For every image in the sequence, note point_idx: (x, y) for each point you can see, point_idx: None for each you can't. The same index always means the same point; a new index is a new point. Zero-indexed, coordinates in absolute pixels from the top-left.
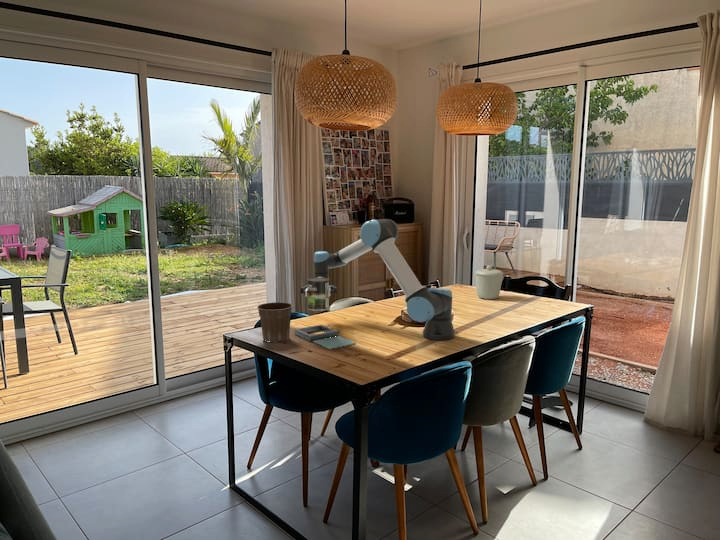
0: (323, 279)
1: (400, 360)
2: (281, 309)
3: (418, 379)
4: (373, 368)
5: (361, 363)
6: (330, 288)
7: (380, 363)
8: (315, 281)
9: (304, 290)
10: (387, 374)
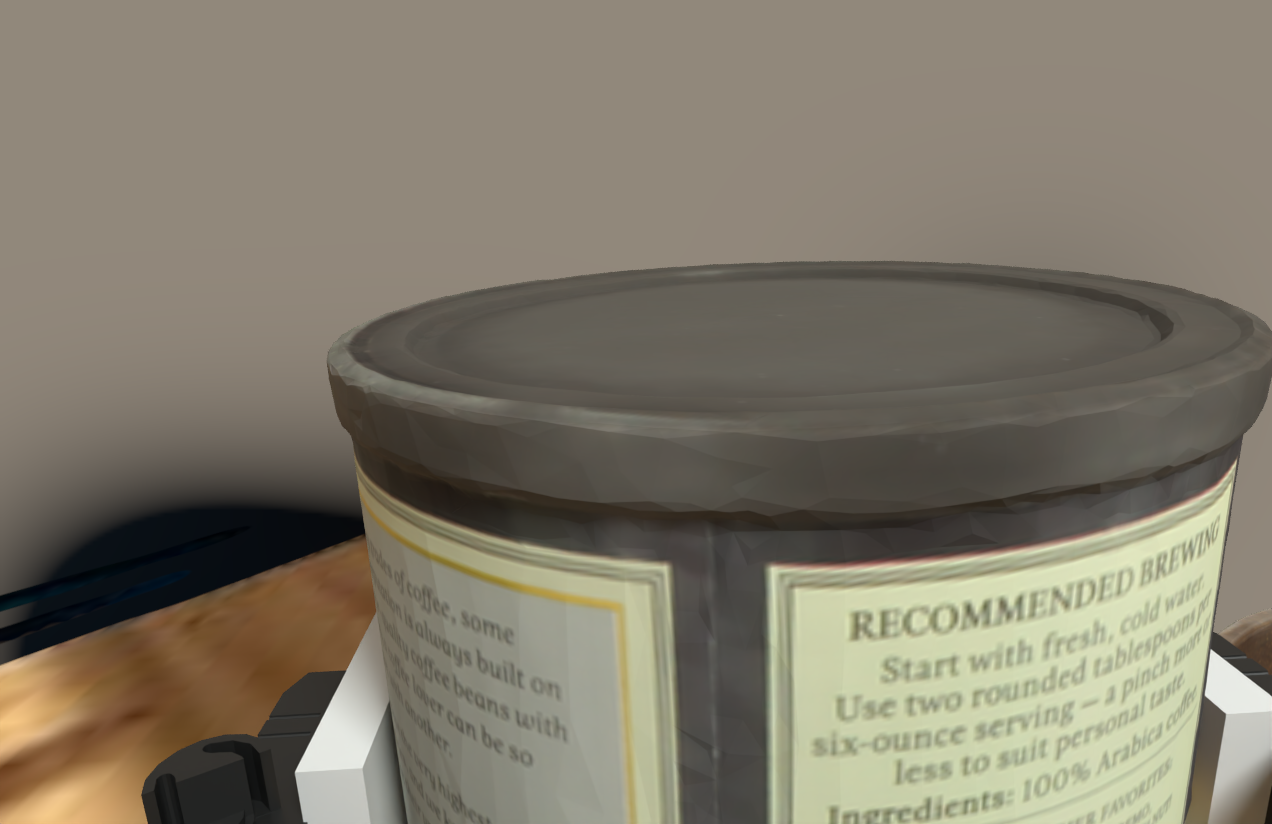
0: (561, 337)
1: (66, 705)
2: (1234, 623)
3: (166, 553)
4: (310, 614)
5: (351, 657)
6: (311, 743)
7: (232, 663)
8: (759, 266)
9: (1237, 669)
10: (274, 575)
